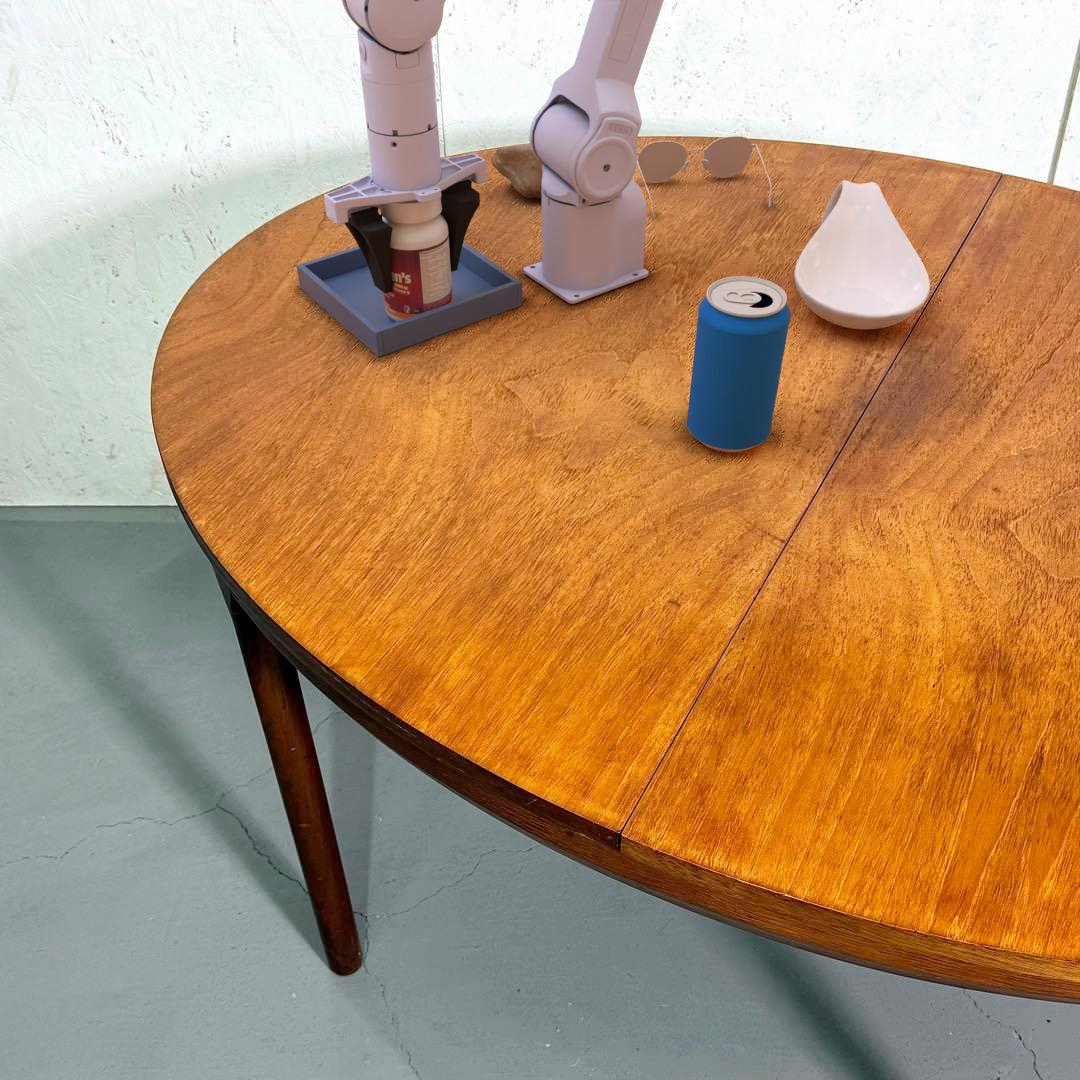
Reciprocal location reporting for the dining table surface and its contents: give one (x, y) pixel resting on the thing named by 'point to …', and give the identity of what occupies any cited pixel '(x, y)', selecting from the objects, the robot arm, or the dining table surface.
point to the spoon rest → (861, 263)
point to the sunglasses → (719, 160)
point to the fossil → (520, 169)
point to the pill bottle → (417, 258)
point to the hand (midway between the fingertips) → (416, 277)
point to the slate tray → (362, 312)
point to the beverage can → (737, 362)
